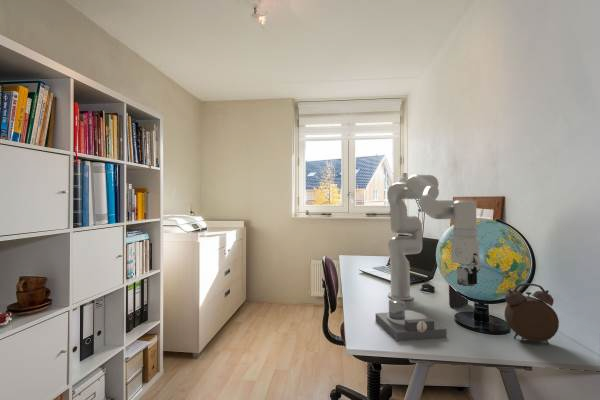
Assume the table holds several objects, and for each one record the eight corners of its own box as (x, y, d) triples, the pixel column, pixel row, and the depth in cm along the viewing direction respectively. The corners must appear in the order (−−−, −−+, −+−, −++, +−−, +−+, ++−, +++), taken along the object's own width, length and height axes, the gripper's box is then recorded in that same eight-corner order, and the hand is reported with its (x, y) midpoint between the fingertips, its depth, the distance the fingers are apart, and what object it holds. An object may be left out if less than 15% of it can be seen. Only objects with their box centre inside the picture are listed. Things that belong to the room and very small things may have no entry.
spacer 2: (453, 282, 112) (453, 266, 112) (467, 281, 113) (467, 265, 113) (464, 286, 106) (464, 269, 106) (479, 285, 107) (479, 269, 107)
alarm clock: (547, 338, 104) (545, 281, 105) (561, 348, 97) (559, 287, 98) (501, 335, 107) (500, 280, 108) (511, 344, 100) (510, 285, 100)
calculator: (460, 302, 145) (459, 271, 145) (469, 304, 141) (468, 273, 141) (448, 306, 139) (447, 274, 139) (457, 309, 135) (456, 276, 135)
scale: (375, 320, 122) (375, 305, 122) (418, 317, 125) (417, 303, 125) (397, 341, 103) (397, 323, 103) (447, 337, 105) (446, 320, 106)
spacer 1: (386, 314, 117) (386, 299, 118) (400, 313, 118) (400, 298, 118) (393, 320, 112) (393, 304, 112) (408, 319, 112) (407, 303, 113)
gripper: (441, 231, 118) (442, 276, 117) (472, 235, 101) (473, 288, 100) (458, 231, 119) (459, 276, 118) (492, 235, 102) (493, 287, 101)
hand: (466, 281), depth 109 cm, fingers closed on spacer 2, 6 cm apart
